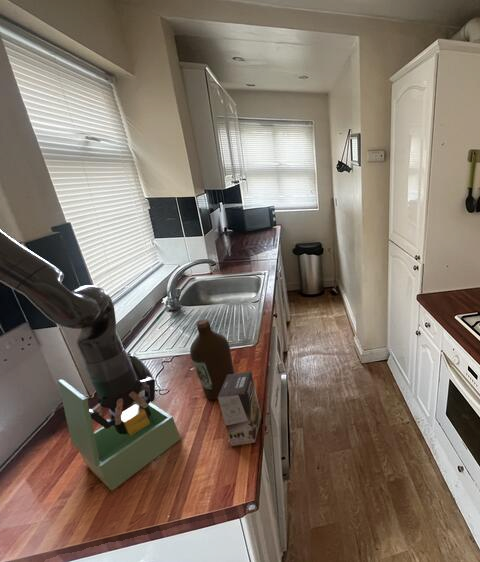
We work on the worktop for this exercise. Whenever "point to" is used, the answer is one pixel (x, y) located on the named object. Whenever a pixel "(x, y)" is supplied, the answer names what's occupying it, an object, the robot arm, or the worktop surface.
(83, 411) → the chest lid
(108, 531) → the worktop surface
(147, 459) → the chest
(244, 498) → the worktop surface
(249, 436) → the coffee box
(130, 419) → the block
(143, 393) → the dark rounded dome
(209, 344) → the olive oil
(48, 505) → the worktop surface
